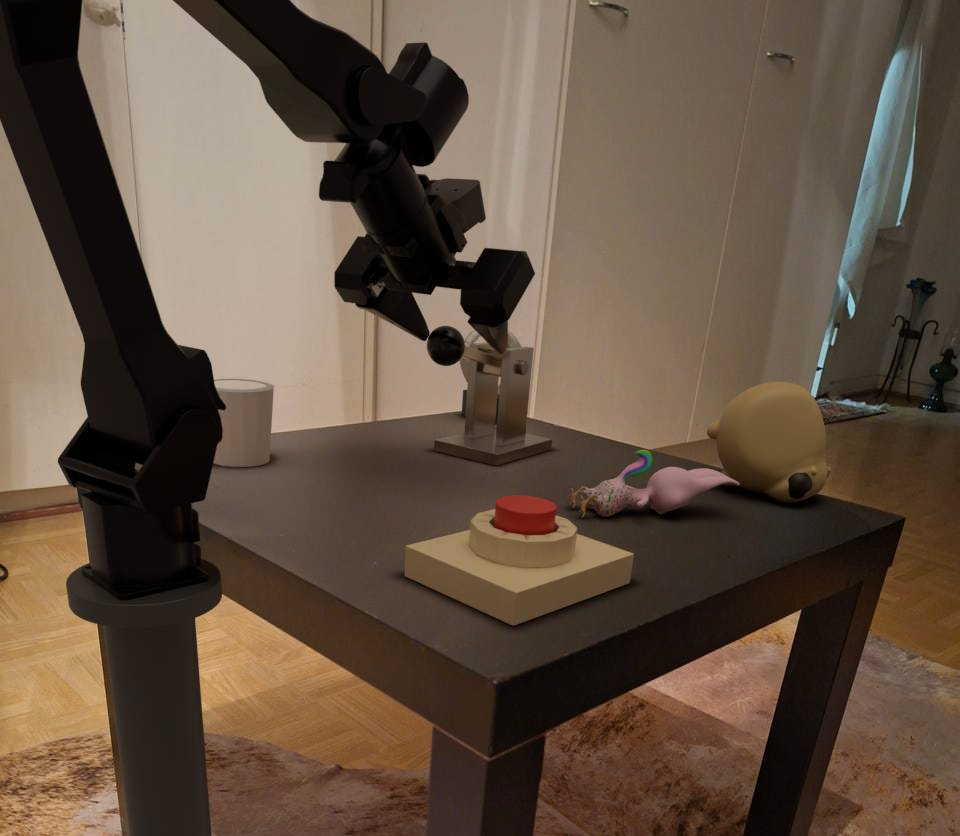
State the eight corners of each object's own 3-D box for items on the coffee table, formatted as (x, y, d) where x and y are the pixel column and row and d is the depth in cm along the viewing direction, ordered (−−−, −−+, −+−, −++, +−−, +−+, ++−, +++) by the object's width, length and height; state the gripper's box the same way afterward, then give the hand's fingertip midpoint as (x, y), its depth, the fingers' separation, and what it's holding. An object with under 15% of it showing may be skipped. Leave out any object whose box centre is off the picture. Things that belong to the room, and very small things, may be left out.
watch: (526, 422, 109) (534, 330, 104) (469, 424, 105) (475, 328, 100) (504, 413, 113) (511, 324, 108) (448, 415, 109) (454, 322, 105)
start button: (526, 543, 55) (528, 516, 54) (481, 526, 58) (483, 500, 57) (566, 532, 58) (569, 506, 57) (521, 516, 60) (524, 491, 59)
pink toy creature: (589, 539, 72) (752, 510, 75) (587, 470, 70) (756, 442, 72) (564, 516, 78) (717, 490, 80) (561, 451, 75) (720, 426, 78)
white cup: (186, 461, 81) (180, 383, 78) (231, 447, 87) (228, 375, 84) (248, 472, 79) (244, 393, 76) (290, 457, 84) (289, 384, 81)
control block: (513, 626, 52) (519, 564, 50) (404, 576, 58) (406, 519, 57) (630, 583, 60) (638, 528, 58) (523, 543, 66) (528, 492, 65)
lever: (446, 365, 79) (454, 324, 79) (415, 359, 81) (422, 319, 80) (518, 386, 91) (525, 350, 90) (489, 381, 92) (496, 346, 91)
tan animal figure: (736, 536, 84) (834, 483, 76) (677, 428, 84) (768, 364, 77) (778, 514, 91) (872, 464, 83) (723, 414, 91) (812, 355, 83)
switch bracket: (496, 465, 88) (505, 354, 83) (433, 450, 91) (438, 343, 87) (551, 449, 96) (562, 347, 91) (491, 436, 100) (499, 338, 95)
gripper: (534, 139, 68) (584, 289, 81) (355, 136, 77) (426, 271, 90) (470, 246, 65) (532, 383, 78) (292, 230, 74) (375, 355, 87)
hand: (464, 343), depth 84 cm, fingers open, 9 cm apart
